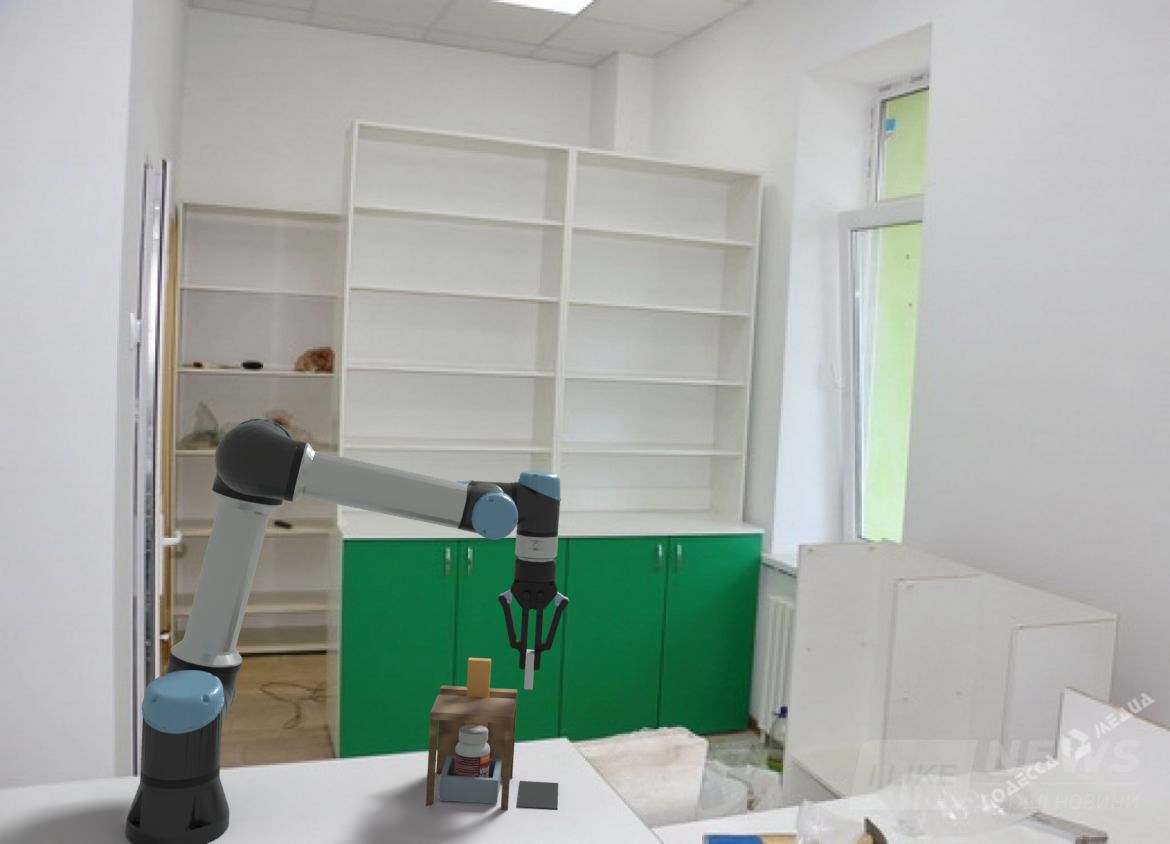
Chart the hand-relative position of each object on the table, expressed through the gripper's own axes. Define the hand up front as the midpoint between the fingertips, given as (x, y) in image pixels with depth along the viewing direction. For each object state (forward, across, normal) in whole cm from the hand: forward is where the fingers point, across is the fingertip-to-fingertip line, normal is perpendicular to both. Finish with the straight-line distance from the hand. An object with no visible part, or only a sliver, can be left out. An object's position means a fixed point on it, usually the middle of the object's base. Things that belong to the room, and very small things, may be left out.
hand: (528, 686), depth 187 cm
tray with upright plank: (+18, -9, -4) cm, 21 cm away
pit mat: (+18, +3, -4) cm, 19 cm away
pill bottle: (+18, -9, -5) cm, 21 cm away
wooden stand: (+18, -9, -4) cm, 21 cm away
